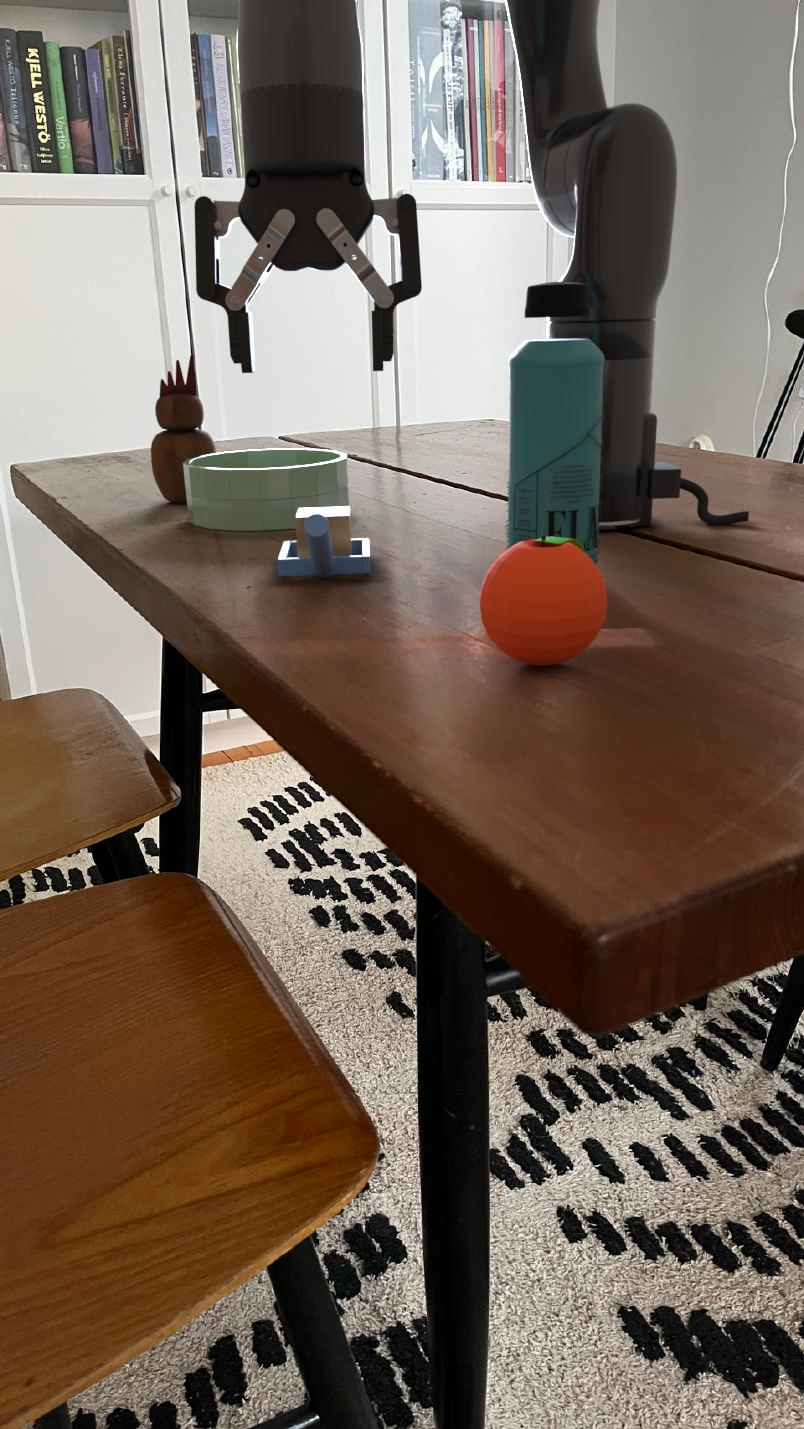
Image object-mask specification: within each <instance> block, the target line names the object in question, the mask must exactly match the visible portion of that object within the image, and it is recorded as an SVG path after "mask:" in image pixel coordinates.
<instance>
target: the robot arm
mask: <svg viewBox="0 0 804 1429" xmlns="http://www.w3.org/2000/svg"><path fill="white" fill-rule="evenodd" d="M237 1H238V4H237V8H238V9H237V10H238V15H237V16H238V17H237V33H236V59H237V73H238V76H237V77H238V90H239V91H238V92H239V108H240V124H241V125H240V126H241V140H242V142H241V143H242V158H243V173H244V174H243V175H244V187H243V192H242V196H241V198H240V200H239V201H232V200H231V201H230V200H213V199H211V198H210V197H208V196H205V195H201V196H198V198H197V199H195V202H194V207H193V208H194V239H195V240H194V245H195V246H194V247H195V249H194V250H195V251H194V252H195V290H196V294H197V296H198V297H199V298H200V299H201V300H203V301H206V302H209V303H213V304H214V305H218V306H220V307H221V308H223V309H224V310H225V311H224V312H225V313H226V315H227V328H228V341H229V342H228V344H229V355H230V359H231V361H232V362H233V365H234V364H235V365H236V364H239V365H240V369H241V373H242V374H254V373H255V372H256V357H255V355H256V354H255V341H254V340H255V338H254V325H253V324H254V322H253V312H250V311H249V305H250V304H251V303H252V300H254V298H255V296H256V294H257V292H258V291H259V290H260V288H261V286H263V284H264V283H265V281H266V280H267V278H268V277H269V275H270V274H271V272H272V271H273V269H274V267H275V268H277V269H278V270H280V271H283V272H285V273H300V272H303V271H307V270H314V271H318V272H323V273H331V272H333V273H335V271H337V270H339V269H341V268H342V267H344V266H345V265H346V266H347V267H348V268H349V270H350V271H351V272H352V274H353V275H354V277H355V278H356V279H357V281H358V283H360V284H361V286H362V287H363V289H364V290H365V291H366V292H367V294H368V295H369V297H370V299H372V301H373V310H371V339H372V340H371V349H372V350H371V351H372V372H384V362H392V359H393V357H394V353H395V350H394V349H395V343H394V340H395V338H394V312H395V309H396V307H397V306H398V305H399V304H401V303H404V302H406V301H408V300H411V299H414V298H416V297H418V296H419V295H420V294H421V292H422V289H423V286H422V268H421V255H420V254H421V253H420V239H419V226H418V224H419V222H418V208H417V200H416V198H415V197H414V196H413V195H412V194H410V193H403V194H401V195H400V196H399V197H392V198H380V199H378V198H377V199H373V198H372V197H371V195H370V193H369V190H368V187H367V172H366V169H367V168H366V166H367V164H366V135H365V134H366V133H365V132H366V130H365V104H364V103H365V94H364V93H365V92H364V89H365V84H366V82H365V79H366V78H365V72H364V57H363V56H364V54H363V42H362V35H361V27H360V20H359V13H358V12H359V11H358V10H359V9H358V0H237ZM504 1H505V6H506V11H507V16H508V17H507V18H508V21H509V27H510V32H511V36H512V37H511V38H512V41H513V47H514V51H515V55H516V63H517V68H518V74H519V80H520V81H519V82H520V91H521V100H522V108H523V117H524V118H523V119H524V125H525V135H526V136H525V137H526V145H527V153H528V154H527V156H528V163H529V170H530V177H531V183H532V188H533V193H534V197H535V200H536V203H537V205H538V208H539V210H540V212H541V213H542V215H543V217H544V219H545V220H546V222H548V224H549V225H550V226H551V228H553V229H554V230H555V231H557V232H558V233H559V234H561V235H563V236H566V237H569V238H573V240H574V241H573V249H572V256H571V259H570V262H569V264H568V267H567V269H566V271H565V273H564V274H563V275H562V276H561V278H560V279H559V280H558V281H557V282H560V281H562V282H574V283H581V284H587V287H588V302H589V316H575V317H546V322H547V323H546V338H545V339H590V340H591V341H592V342H593V343H594V344H595V345H596V346H597V347H598V348H599V349H600V351H601V352H602V353H603V355H604V364H603V387H602V391H603V393H602V413H603V414H605V415H604V427H603V422H602V430H601V437H602V438H601V440H602V439H603V441H604V442H603V443H602V441H601V448H602V449H601V459H600V462H601V463H600V475H602V476H600V480H601V482H602V483H601V482H600V487H602V489H600V488H599V493H600V494H599V505H600V504H601V528H600V506H599V519H598V520H599V521H598V528H599V530H598V531H611V530H623V529H629V528H634V527H640V526H652V520H653V519H652V517H653V503H654V502H653V501H654V500H659V499H679V498H680V497H681V490H682V491H686V492H688V493H690V494H692V495H693V496H694V497H695V498H696V499H697V505H696V514H697V516H698V518H699V519H700V521H702V522H704V524H707V525H709V526H728V525H732V524H737V523H743V522H744V523H745V522H746V523H747V522H749V514H750V512H749V510H742V511H735V512H732V513H731V512H730V513H727V514H720V515H717V514H713V513H711V512H709V509H708V508H709V495H708V493H707V492H706V491H705V490H704V488H703V487H702V486H701V485H699V484H698V483H696V482H694V481H692V480H689V479H687V478H684V477H682V469H681V468H679V467H678V466H675V465H673V464H671V463H669V462H667V461H656V449H657V448H656V447H657V432H658V431H657V429H658V417H657V415H656V413H653V412H652V393H653V379H654V378H653V376H654V360H655V359H654V357H655V341H656V340H655V338H656V323H657V322H656V320H655V319H656V318H657V307H658V301H659V298H660V296H661V293H662V291H663V289H664V286H665V284H666V281H667V278H668V273H669V267H670V262H671V261H670V260H671V250H672V240H673V231H674V220H675V213H676V212H675V211H676V201H677V192H678V191H677V190H678V159H677V152H676V146H675V142H674V138H673V135H672V132H671V130H670V128H669V125H668V124H667V123H666V121H665V120H664V118H663V117H662V115H660V114H659V112H658V111H656V110H655V109H653V108H651V107H649V106H648V105H645V104H642V103H638V102H637V103H636V102H626V103H620V104H615V105H612V106H611V105H610V106H608V104H607V99H606V94H605V88H604V82H603V76H602V71H601V65H600V58H599V49H598V48H599V47H598V17H599V9H600V3H601V0H504ZM374 218H378V219H380V220H381V221H382V222H383V223H384V228H385V231H386V232H387V234H389V235H391V236H397V241H398V254H399V255H398V256H399V269H400V280H399V281H397V282H395V283H392V284H389V285H387V283H386V282H385V280H384V279H383V278H382V276H381V275H380V274H379V272H378V271H377V269H376V268H375V267H374V265H373V264H372V263H371V261H370V260H369V258H368V257H367V256H366V254H365V253H364V251H362V249H361V248H360V246H359V243H360V242H361V240H362V238H363V237H364V235H365V234H366V232H367V230H368V229H369V228H370V226H371V224H372V223H373V221H374ZM238 220H240V222H241V224H242V225H243V227H244V229H246V230H247V232H248V233H249V234H250V236H251V237H252V239H253V240H254V241H255V243H256V246H255V248H254V249H253V251H252V252H251V254H250V255H249V258H248V259H247V260H246V262H245V263H244V265H243V267H242V268H241V272H240V273H239V275H238V276H237V278H236V280H235V282H234V283H233V284H232V286H231V287H229V286H226V285H224V284H222V283H221V239H224V238H227V237H228V236H229V235H230V233H231V230H232V229H231V228H232V225H233V224H234V222H236V221H238ZM603 394H604V395H603ZM604 398H605V399H604ZM604 407H605V408H604ZM603 411H604V412H603ZM603 430H604V431H603ZM603 436H604V437H603ZM602 444H603V445H602ZM602 446H603V447H602ZM602 450H603V452H602ZM602 458H603V459H602ZM601 460H602V461H601ZM601 478H602V479H601ZM601 490H602V492H601ZM600 501H601V503H600Z"/></svg>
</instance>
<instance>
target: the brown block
mask: <svg viewBox="0 0 804 1429" xmlns="http://www.w3.org/2000/svg"><path fill="white" fill-rule="evenodd" d="M312 514H321V515H323V516H325V517H326V518H327V520H328V522H329V528H330V535H331V542H332V549H333V556H350V555H352V539H353V538H352V523H351V522H352V521H351V520H352V519H351V506H350V505H349V506H345V507H316V508H298V511H297V514H296V517H295V521H296V529H295V532H296V534H295V535H296V541H297V552H298V557H311V556H310V551H309V547H308V542H307V537H306V533H305V528H304V523H305V520H306V519H307V518H308V517H309V516H310V515H312Z"/></svg>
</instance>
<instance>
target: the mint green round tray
mask: <svg viewBox="0 0 804 1429" xmlns="http://www.w3.org/2000/svg"><path fill="white" fill-rule="evenodd" d="M183 468H184V478H185V488H186V498H187V504H186V506H187V516H188V521H189V522H190V523H191V524H192V525H193V526H195V527H200V528H205V529H209V530H218V531H231V532H266V531H267V532H269V531H281V530H282V531H283V530H296V521H295V517H296V514H297V511H298V508H316V507H345V506H350V496H349V495H350V493H349V473H348V472H349V471H348V470H349V468H348V454H347V453H344V452H341V451H337V450H330V449H322V448H321V449H320V448H294V447H293V448H261V449H260V448H258V449H245V450H244V449H243V450H234V451H233V450H232V451H223V452H216V453H215V454H208V455H202V456H198V457H194V458H191V459H187V460H186V461H185V462H184V463H183Z"/></svg>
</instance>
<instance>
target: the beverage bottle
mask: <svg viewBox="0 0 804 1429" xmlns="http://www.w3.org/2000/svg"><path fill="white" fill-rule="evenodd" d="M525 298H526V300H525V307H524V319H534V318H535V319H537V318H538V319H539V318H540V319H541V318H547V317H575V316H589V302H588V287H587V284H581V283H574V282H562V281H560V282H558V281H549V282H543V283H542V282H541V283H537V284H532V285H529V286H527V288H526V296H525ZM507 364H508V370H509V371H508V374H509V375H508V383H509V384H508V386H509V387H508V470H507V473H506V474H508V475H506V477H505V478H507V477H508V478H507V479H508V481H507V482H506V485H507V492H506V495H507V497H505V500H506V499H507V500H506V502H507V503H505V505H506V506H507V510H506V509H505V514H506V513H507V520H505V523H506V524H505V528H506V529H505V532H507V533H505V536H506V538H507V541H505V551H506V550H508V549H509V548H510V547H512V546H513V545H515V544H517V543H519V542H522V541H526V540H531V539H540V538H541V536H546V537H561V538H569V539H577V540H578V541H579V542H580V543H581V544H582V545H583V547H584V550H585V553H586V554H587V555H588V556H589V557H590V558H591V559H592V561H593V562H594V563H595V565H596V566H597V563H598V561H599V560H600V558H598V557H600V553H601V551H600V548H599V547H600V545H601V536H599V531H600V530H599V528H598V521H599V520H598V519H599V506H600V528H601V504H600V505H599V494H600V493H599V488H600V489H602V487H600V482H601V480H600V476H602V475H600V463H601V462H600V459H601V449H602V448H601V441H602V443H603V442H604V441H603V439H602V440H601V438H602V437H601V430H602V422H603V427H604V415H605V414H603V413H602V393H603V391H602V387H603V364H604V355H603V353H602V352H601V351H600V349H599V348H598V347H597V346H596V345H595V344H594V343H593V342H592V341H591V340H590V339H546V338H543V339H542V338H541V339H527V340H524V341H522V343H521V344H520V345H519V346H518V347H517V348H516V349H515V350H514V351H513V352H512V353H511V354H510V356H509V357H508V362H507ZM603 395H604V394H603ZM604 399H605V398H604ZM604 408H605V407H604ZM603 412H604V411H603ZM603 431H604V430H603ZM603 437H604V436H603ZM602 445H603V444H602ZM602 447H603V446H602ZM602 452H603V450H602ZM602 459H603V458H602ZM601 461H602V460H601ZM601 479H602V478H601ZM601 483H602V482H601ZM601 492H602V490H601ZM600 503H601V501H600ZM506 544H507V546H506Z"/></svg>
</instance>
